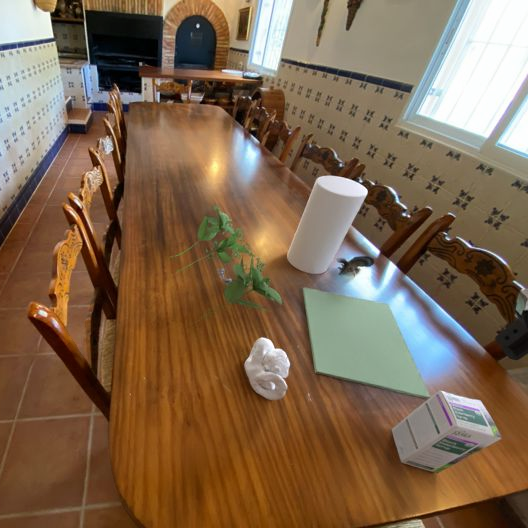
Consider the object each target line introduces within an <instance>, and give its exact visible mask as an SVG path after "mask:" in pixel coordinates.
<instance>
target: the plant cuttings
mask: <svg viewBox="0 0 528 528" xmlns="http://www.w3.org/2000/svg"><path fill="white" fill-rule="evenodd" d="M215 210H216V211H217V217H216V216H209V217H208V216H204V217H203V219H202V222H201V223H200V225H199V227H198V230H197V239H198V241H197V242H195V243H194V244H193V245H191V246H190V247H189V248H187V249H186V250H184V251H182V252H181V253H178V254H176V255H169V256H168V258H175V257H178V256H181V255H183V254H185V253H186V252H188V251H189V250H191V249H192V248H193V247H194V246H196V245H197V244H198V243H199V242H201V241H211V242H210V243H209V244H208V245H207V248H206V250H205V252H206V253H208V254H207V255H206V256H203V257H201V258H199V259H197V260H195V261H194V262H191V263H190V264H188V265H186V266H184V267H183V268H181V269H179V270H177V271H176V272H175V273H174V274H178V273H179V272H181V271H183V270H184V269H187V268H188V267H189V266H191V265H193V264H195V263H197V262H199V261H201V260H202V259H204V258H205V257H207V259H208V260H216V259H218V258H219V260H220V262H222V263H223V264H228V263H230V262H232V261H235V258H237V259H238V260H240V264H239V263H238V262H235V264H233V273H234V274H235V276H236V279H234V280H233V279H232V278H231V277H230V278H226V277H225V275H224V274H225V272H226V271H225V269H224V268H219V269H218V268H216V272H217V273H218V275H219V277H220V279H221V280H222V283H223V285H226V286H225V288H224V290H223V296H224V298H225V301H224V302H222V303H220V305H222V304H223V303H225V302H226V304H224V305H222V306H220V307H219V308H216V309H215V310H212V309H214V307H212V308H210V309H209V310H207V311H205V313H208V312H209V311H211V310H212V311H211V312H210V313H208V314H206V315H204V316H203V317H201V318H199V319H198V320H197V321H195V322H193V323H191V324H189V326H192V325H194V324H195V323H197V322H198V321H200V320H203V319H204V318H206V317H208V316H210V315H211V314H214V313H215V312H217V311H218V310H220V309H222V308H224V307H225V306H227V305H230V304H236V305H240V306H241V305H242V306H247V307H251V308H256V309H260V310H263V311H266V312H269V309H267V308H265V307H263V306H262V305H259V304H257V303H255V302H253V301H250V300H246V299H242V298H241V297H243V296H245V295H247V294H249V293H251V292H253V291H254V292H256V293H257V294H259V295H260V296H262V297H264V298H267V299H269V300H271V301H272V302H273V301H276V302H277V303H278V304H279V305H280V307H282V306H283V301H282V297H281V296H280V294H279V293H278V292H277V291H276V290H275V289H274V288H273V287H270V286H268V285H269V284H270V282H271V280H272V278H270V277H267V276H265V277H263V274H262V272H263V271H264V270H265V268H264V267H265V266H266V265H267V262H264V261H261V258H260V257H259V256H258V257H257V258H256V263H255V262H254V258H255V257H256V256H255V255H254V254H253V252H252V248H251V247H250V244H249V243H248V242H247V241H246V242H245V243H246V245H247V246H246V245H245V244H241V243H239V242H237V241H238V238H239V241H241V242H242V243H243V242H244V241H245V240H244V237H245V235H244V233H243V232H242V230H243V228H238V227H236V229H235V228H234V227H233V225H234V223H232V221H233V219H230V218H229V216H228V214H226V213H224V212H222V211H221V210H220V208H219V206H218V205H214V206H213V211H215ZM209 224H211V226H210V227H208V226H209ZM221 231H222V235H226V233H227V234H230V235H229V236H228V237H227V238H224V239H222V240H220V242H219V244H218V241H217V240H213V239H214V238H215V237H216V235H217V234H218V233H220V232H221ZM212 243H213V244H214V248H213V247H212V248H211V250H209V251H208V247H209V246H210V245H211V244H212ZM227 249H230V250H231V251H230V252H231V257H230V256H229V254H228V253H227V252H226V250H227ZM211 251H212V252H211ZM215 252H216V253H217V256H216V257H215V255H216V253H215ZM241 253H242V255H241ZM244 254H247V255H248V257H249V258H250V267H248V264H247V263H244ZM210 255H212V257H209V256H210ZM254 263H255V265H256V267H255V265H254ZM244 267H246V268H244ZM247 270H249V271H248V273H247Z"/></svg>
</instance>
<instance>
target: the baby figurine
mask: <svg viewBox="0 0 528 528" xmlns="http://www.w3.org/2000/svg"><path fill="white" fill-rule="evenodd" d="M249 352H250V354H249V356H248V358H247V359H246V360H245V362H244V364H243V365H244V371H245V373H246V374H245V375H246V376H247V378H248V382H249V384H250V386H251V388H252V389H253V390H254V392H255V393H256V394H257V395H260V396H261V397H263V398H265V399H267V400H269V401H279V400H282V398H284V397H285V395H286V392H287V390H288V385H287V383H286V381H285V379H286V378H288V376H289V369H290V367H291V362H290V360H289V357H288V356H287V353H286V352H285V351H284V350H283V349H282V348H275V345H274V344H273V342H272V340H270V339H268V338H267V337H259V338H258V339H257V340H256V341H254V343H253V346H252V348H251V351H249Z"/></svg>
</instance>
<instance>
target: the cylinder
mask: <svg viewBox="0 0 528 528" xmlns="http://www.w3.org/2000/svg"><path fill="white" fill-rule="evenodd" d="M367 196H368V189H367V188H366V187H365V186H364V185H363V184H361V183H359V182H357V181H356V180H352V179H350V178H346V177H342V176H337V175H321V176H319V177H317V178H316V179H315V182H314V185H313V187H312V190H311V192H310V195H309V197H308V200H307V203H306V205H305V208H304V210H303V213H302V215H301V218H300V221H299V223H298V226H297V228H296V231H295V233H294V235H293V239H292V241H291V243H290V246H289V249H288V251H287V254H286V259H287V261H288V262H289V264H290V265H291V266H292V267H294V268H296V269H297V270H299V271H300V272H303V273H307V274H311V275H321V274H324V273H326V272H327V271H328V270H329V268H330V266H331V264H332V262H333V261H334V259H335V256H337V255H336V254H337V253H338V251H339V249H340V247H341V245H342V243H343V242H344V239H345V237H346V235H347V234H348V232H349V230H350V228H351V226H352V224H353V222H354V221H355V219H356V216H357V214H358V212H359V211H360V209H361V206H362V205H363V203H364V201H365V200H366V197H367Z"/></svg>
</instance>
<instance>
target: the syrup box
mask: <svg viewBox="0 0 528 528" xmlns="http://www.w3.org/2000/svg"><path fill="white" fill-rule="evenodd" d="M391 433H392V437H393V441H394V443H395V447H396V451H397V454H398V456H399V460H400V463H402V464H404V465H409V466H412V467H414V468H418V469H421V470H424V471H428V472H432V473H434V474H439V473H440V472H441V473H442V472H443V471H444V470H446V469H448V468H450V467H452V466H453V465H456V464H457V463H460V462H461V461H463V460H465V459H467V458H469V457H470V456H472V455H474V454H476V453H478V452H480V451H482V450H483V449H485V448H487V447H489V446H491V445H493V444H495V443H496V442H498V441H500V440H502V436H501V433H500V431H499V430H498V427H497V426H496V424H495V421H494V419H493V417H492V416H491V415H490V413H489V411H488V410H487V408H486V406H485V405H484V404H483V402H482V400H481V399H476V398H475V399H474V398H470V397H467V396H464V395H460V394H457V393H453V392H452V393H451V392H447V391H443V390H440V389H439V390H437V391H436V392H435V393H433V394H432V395H430V398H429V399H426V400H425V401H424V402H423V403H422V404H420V405H419V406H418V407H416V408H415V409H414V410H413V411H412V412H410V414H408V415H407V416H406V417H405V418H403V419H402V420H401V421H399V422H398V423H397V424H395V425H394V426H393V428H391Z"/></svg>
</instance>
